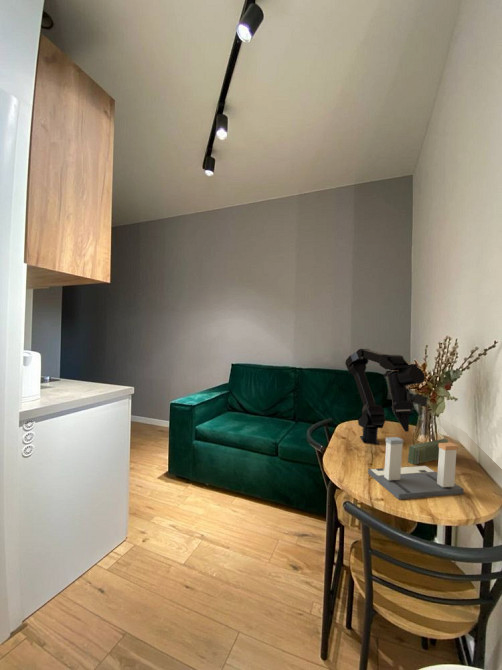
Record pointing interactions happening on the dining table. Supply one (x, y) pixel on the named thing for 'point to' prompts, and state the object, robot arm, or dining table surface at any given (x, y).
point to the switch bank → (414, 483)
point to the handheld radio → (424, 451)
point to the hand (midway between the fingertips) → (406, 431)
